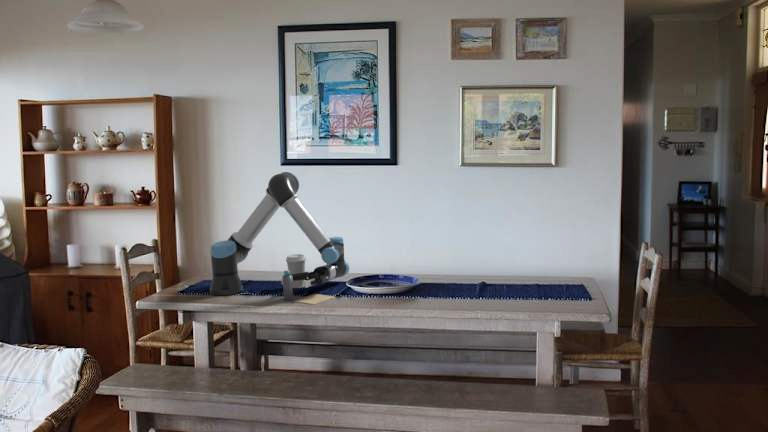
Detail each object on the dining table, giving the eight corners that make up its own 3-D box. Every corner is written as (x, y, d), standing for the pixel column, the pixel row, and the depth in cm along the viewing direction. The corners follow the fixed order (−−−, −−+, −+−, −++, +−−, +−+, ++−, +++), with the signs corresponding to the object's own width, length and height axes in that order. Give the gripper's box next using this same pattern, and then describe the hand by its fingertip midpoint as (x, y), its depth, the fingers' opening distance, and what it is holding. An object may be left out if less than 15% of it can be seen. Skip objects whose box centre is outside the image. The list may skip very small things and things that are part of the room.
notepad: (293, 301, 295) (293, 300, 295) (314, 294, 306) (314, 293, 306) (314, 304, 288) (314, 304, 288) (335, 297, 299) (335, 296, 299)
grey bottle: (282, 300, 298) (280, 271, 296) (288, 298, 301) (286, 269, 299) (288, 301, 295) (287, 272, 294) (295, 299, 299) (293, 270, 297)
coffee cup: (303, 289, 317) (302, 257, 316) (284, 288, 319) (282, 257, 317) (310, 284, 327) (308, 253, 325) (291, 284, 329) (289, 253, 327)
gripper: (303, 263, 324) (272, 272, 307) (344, 268, 310) (314, 277, 292) (304, 278, 325) (273, 288, 308) (345, 284, 311) (315, 294, 293)
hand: (293, 283), depth 300 cm, fingers open, 13 cm apart
